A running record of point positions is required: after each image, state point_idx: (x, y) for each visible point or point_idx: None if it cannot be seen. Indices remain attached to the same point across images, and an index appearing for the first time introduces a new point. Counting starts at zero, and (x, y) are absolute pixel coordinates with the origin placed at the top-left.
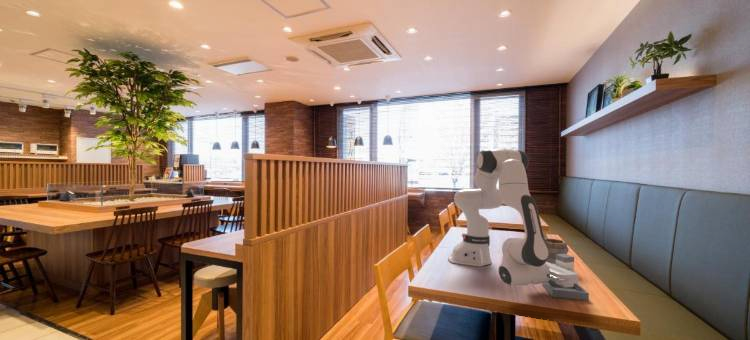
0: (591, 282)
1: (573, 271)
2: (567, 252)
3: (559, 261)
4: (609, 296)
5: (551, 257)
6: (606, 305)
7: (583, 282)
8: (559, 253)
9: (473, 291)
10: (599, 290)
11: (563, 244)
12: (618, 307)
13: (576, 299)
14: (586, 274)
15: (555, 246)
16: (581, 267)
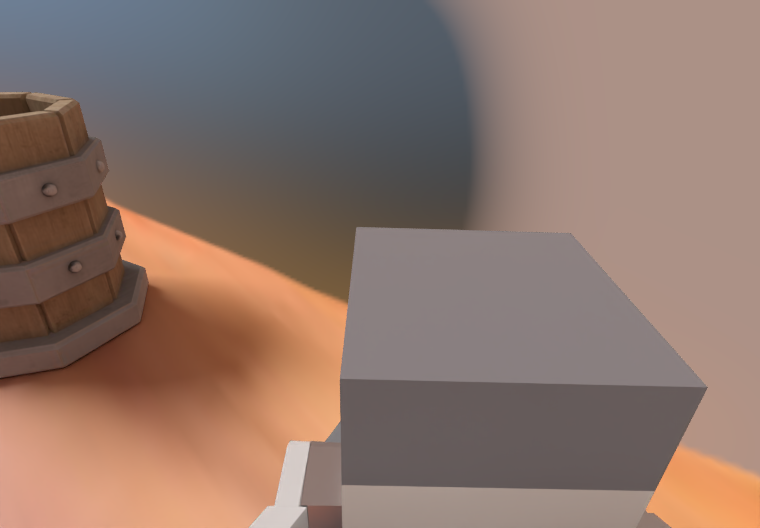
0: (319, 311)
1: None
2: (106, 174)
3: (466, 500)
4: None
5: (6, 261)
6: (697, 519)
7: (300, 340)
8: (63, 203)
9: None
10: None
11: (66, 117)
12: (709, 466)
13: None
14: (232, 262)
15: (5, 152)
16: (166, 228)
